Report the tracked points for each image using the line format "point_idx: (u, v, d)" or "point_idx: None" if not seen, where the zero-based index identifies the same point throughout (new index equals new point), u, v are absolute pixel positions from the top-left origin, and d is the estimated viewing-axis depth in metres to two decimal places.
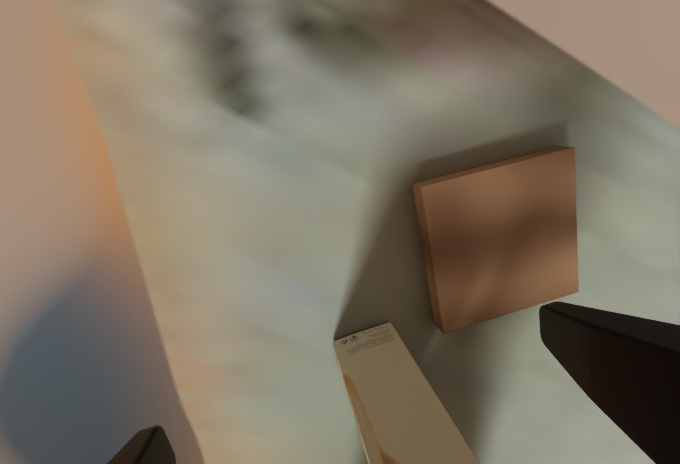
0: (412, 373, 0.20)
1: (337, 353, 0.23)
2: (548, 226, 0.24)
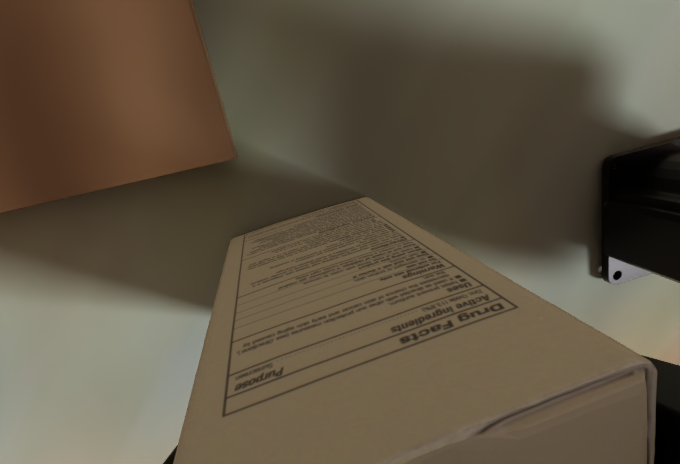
0: None
1: None
2: None
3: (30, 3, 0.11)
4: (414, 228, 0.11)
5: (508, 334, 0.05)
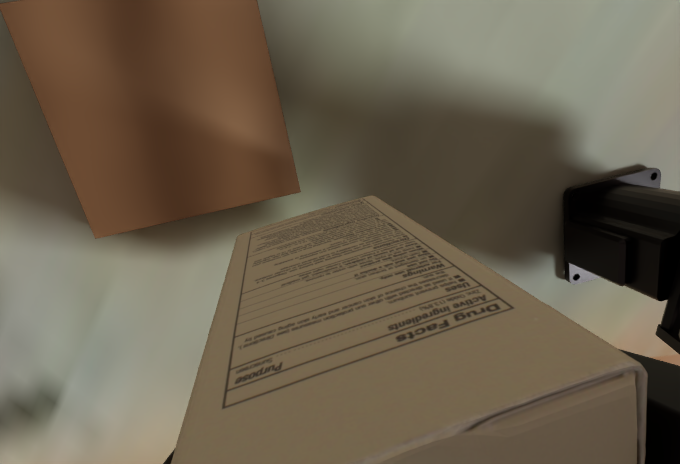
0: None
1: None
2: (135, 37, 0.16)
3: (179, 93, 0.17)
4: (417, 227, 0.11)
5: (502, 335, 0.05)
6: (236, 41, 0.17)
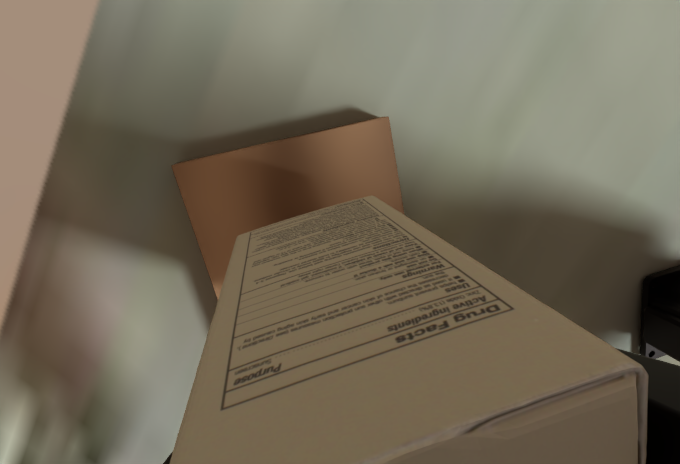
0: None
1: None
2: (286, 184, 0.17)
3: None
4: (417, 228, 0.11)
5: (502, 336, 0.05)
6: (373, 180, 0.18)
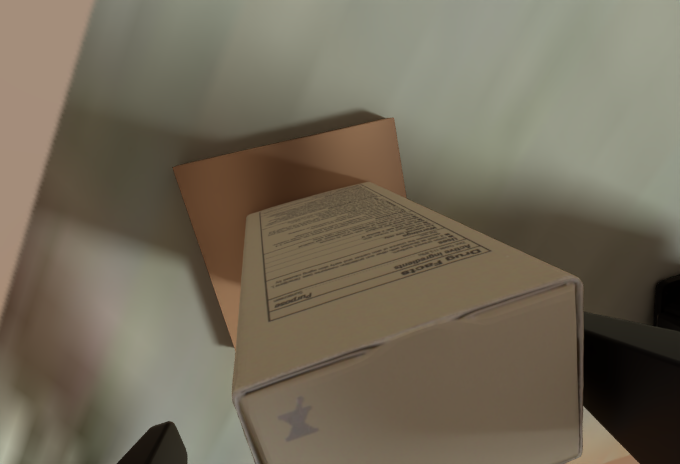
0: None
1: None
2: (289, 187, 0.17)
3: None
4: (412, 203, 0.12)
5: (482, 266, 0.07)
6: (377, 183, 0.18)
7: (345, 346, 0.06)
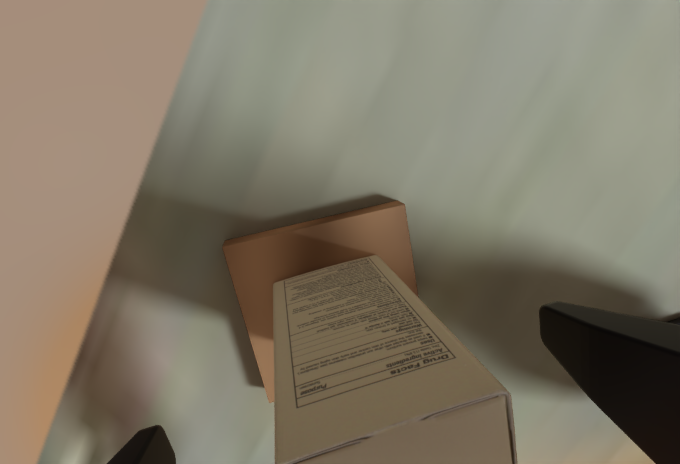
0: None
1: None
2: (316, 260, 0.20)
3: None
4: (407, 292, 0.16)
5: (446, 373, 0.10)
6: (390, 256, 0.21)
7: (348, 437, 0.09)
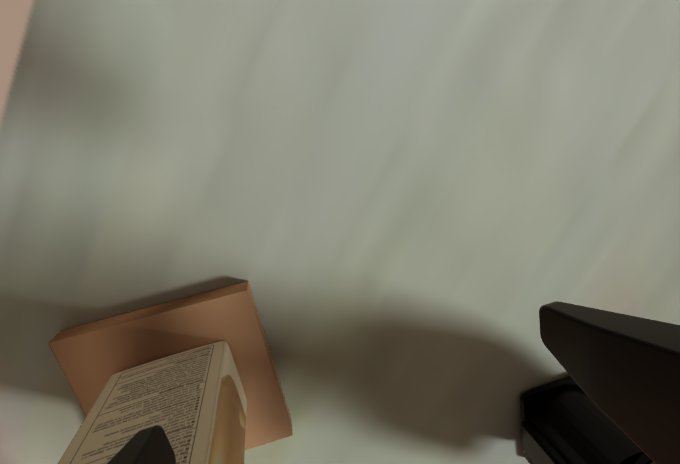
0: None
1: None
2: (156, 350, 0.20)
3: None
4: (208, 410, 0.15)
5: None
6: (237, 341, 0.20)
7: None
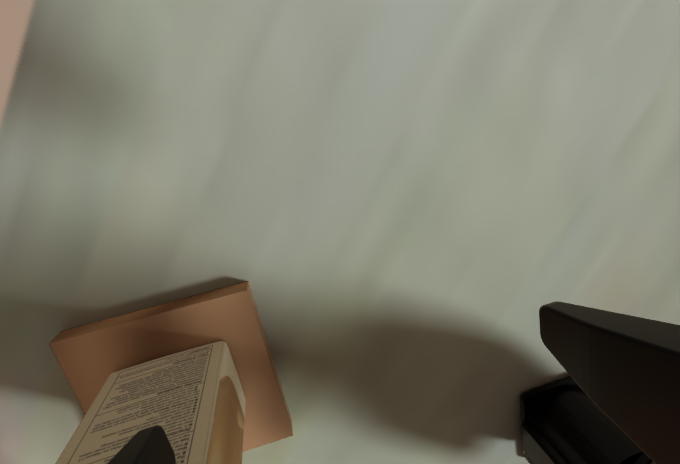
0: None
1: None
2: (156, 350, 0.20)
3: None
4: (205, 413, 0.15)
5: None
6: (237, 341, 0.21)
7: None
